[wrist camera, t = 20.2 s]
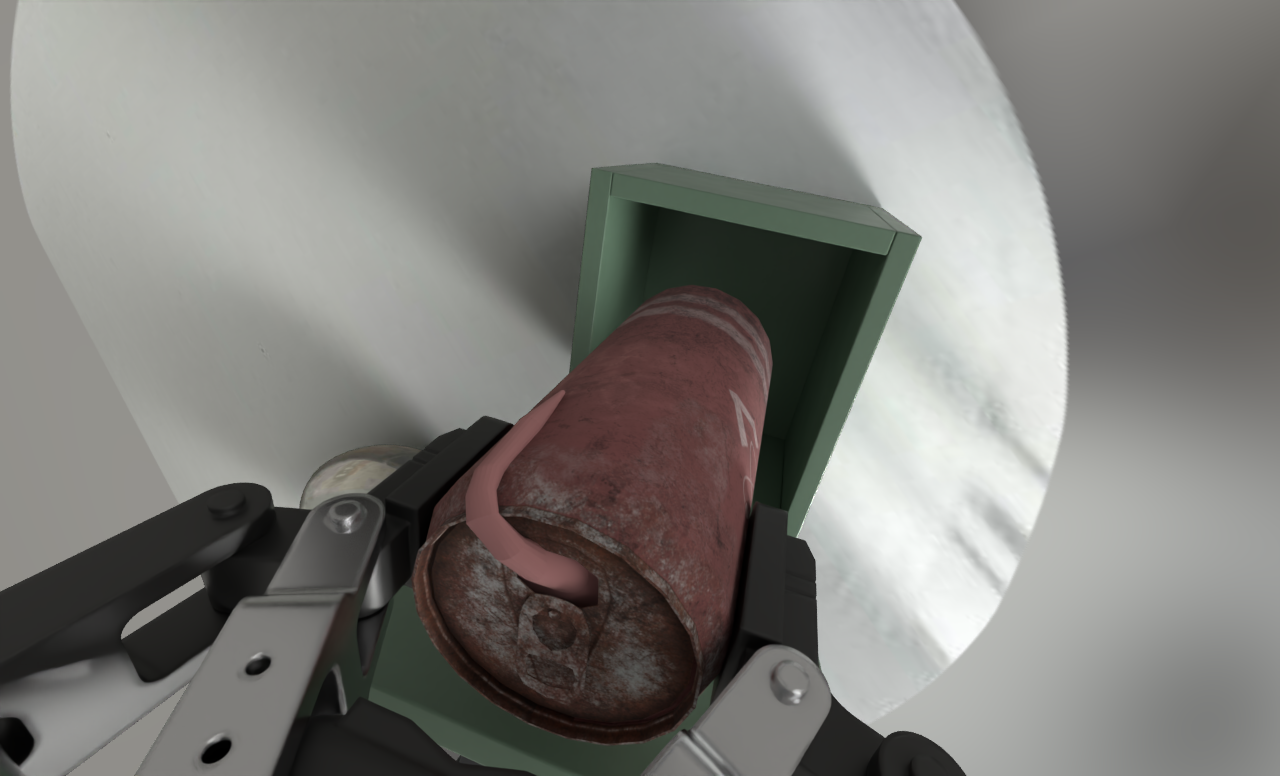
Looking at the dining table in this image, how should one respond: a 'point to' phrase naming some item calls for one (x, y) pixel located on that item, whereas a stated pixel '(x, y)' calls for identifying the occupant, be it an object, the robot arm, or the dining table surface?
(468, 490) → the can
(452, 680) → the lid
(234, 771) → the robot arm
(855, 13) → the dining table surface
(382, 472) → the bowl
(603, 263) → the chest
